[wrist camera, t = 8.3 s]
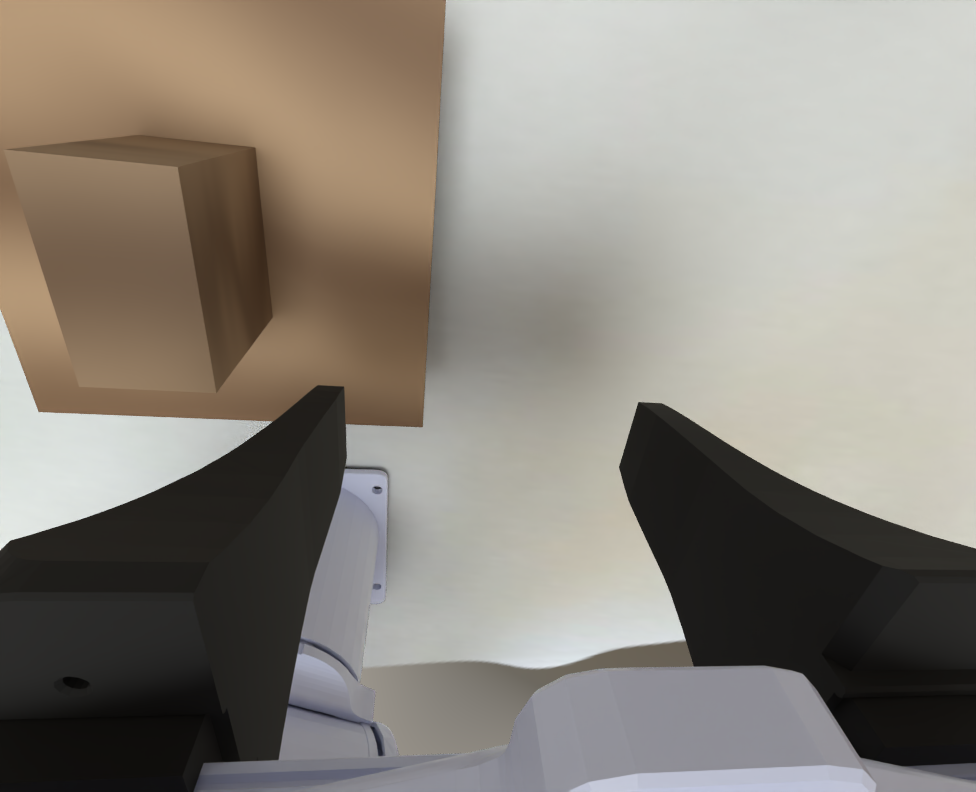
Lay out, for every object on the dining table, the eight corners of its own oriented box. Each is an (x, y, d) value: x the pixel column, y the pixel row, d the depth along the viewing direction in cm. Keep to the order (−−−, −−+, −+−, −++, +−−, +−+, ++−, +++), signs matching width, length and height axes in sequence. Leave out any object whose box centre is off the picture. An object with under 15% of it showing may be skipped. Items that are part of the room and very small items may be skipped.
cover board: (422, 418, 20) (419, 521, 15) (50, 403, 18) (-91, 513, 13) (445, -2, 13) (452, -60, 9) (-126, -88, 12) (-519, -222, 7)
